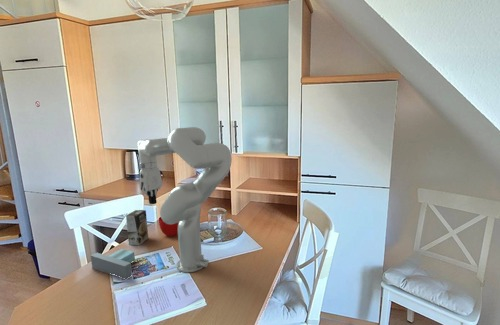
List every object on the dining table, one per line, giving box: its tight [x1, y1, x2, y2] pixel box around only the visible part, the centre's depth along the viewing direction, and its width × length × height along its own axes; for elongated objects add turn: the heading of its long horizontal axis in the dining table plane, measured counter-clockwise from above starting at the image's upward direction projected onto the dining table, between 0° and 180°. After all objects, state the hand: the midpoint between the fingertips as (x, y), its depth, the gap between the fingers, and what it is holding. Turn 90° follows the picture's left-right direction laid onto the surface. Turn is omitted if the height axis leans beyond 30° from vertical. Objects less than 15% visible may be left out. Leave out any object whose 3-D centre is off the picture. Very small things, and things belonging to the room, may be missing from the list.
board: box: [90, 252, 133, 280], centre depth 123 cm, size 22×3×6 cm, turn 62°
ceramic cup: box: [158, 216, 179, 238], centre depth 160 cm, size 13×17×10 cm
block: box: [108, 248, 136, 263], centre depth 130 cm, size 8×9×5 cm
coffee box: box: [125, 209, 149, 246], centre depth 153 cm, size 9×6×16 cm
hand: (153, 203), depth 138 cm, fingers closed
